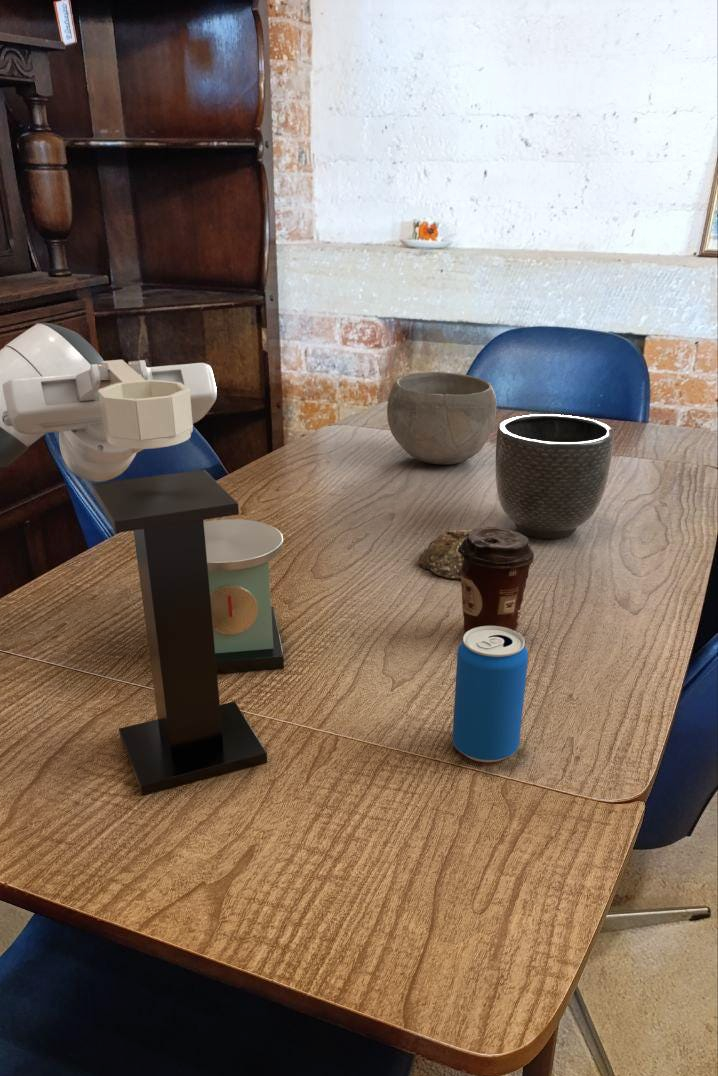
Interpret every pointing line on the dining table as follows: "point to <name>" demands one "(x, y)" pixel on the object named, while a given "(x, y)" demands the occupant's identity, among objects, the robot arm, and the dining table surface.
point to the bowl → (441, 415)
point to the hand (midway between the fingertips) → (120, 370)
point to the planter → (552, 472)
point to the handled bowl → (143, 410)
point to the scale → (243, 594)
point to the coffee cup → (493, 577)
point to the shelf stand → (178, 632)
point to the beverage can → (489, 693)
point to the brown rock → (444, 554)
